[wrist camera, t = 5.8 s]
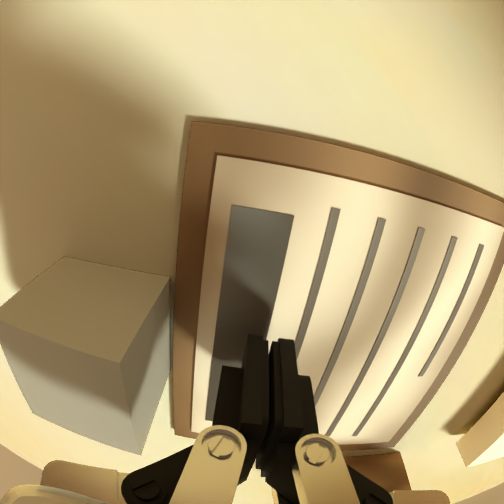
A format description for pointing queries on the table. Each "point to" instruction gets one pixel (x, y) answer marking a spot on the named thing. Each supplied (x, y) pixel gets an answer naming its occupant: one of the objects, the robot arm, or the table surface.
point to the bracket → (484, 437)
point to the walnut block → (382, 470)
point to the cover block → (91, 348)
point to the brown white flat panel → (327, 276)
